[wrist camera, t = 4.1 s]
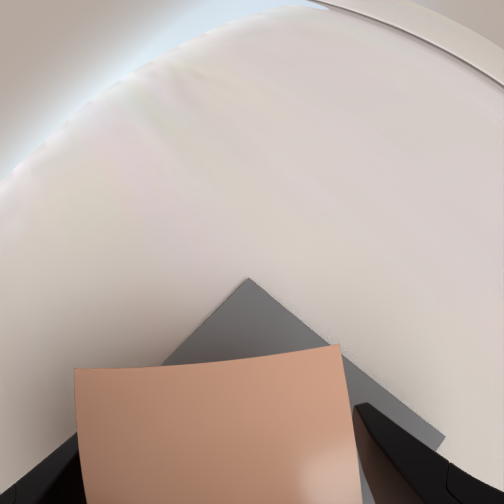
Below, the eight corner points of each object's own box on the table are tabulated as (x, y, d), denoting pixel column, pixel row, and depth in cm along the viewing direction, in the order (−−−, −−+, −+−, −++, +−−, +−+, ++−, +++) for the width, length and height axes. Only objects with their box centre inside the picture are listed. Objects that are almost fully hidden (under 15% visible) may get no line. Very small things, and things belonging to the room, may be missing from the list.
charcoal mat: (262, 607, 9) (261, 610, 8) (79, 448, 14) (75, 448, 13) (442, 436, 13) (445, 436, 13) (249, 280, 18) (248, 277, 17)
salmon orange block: (320, 497, 12) (368, 582, 4) (189, 508, 12) (109, 586, 4) (303, 377, 15) (338, 343, 7) (174, 391, 15) (74, 368, 7)
